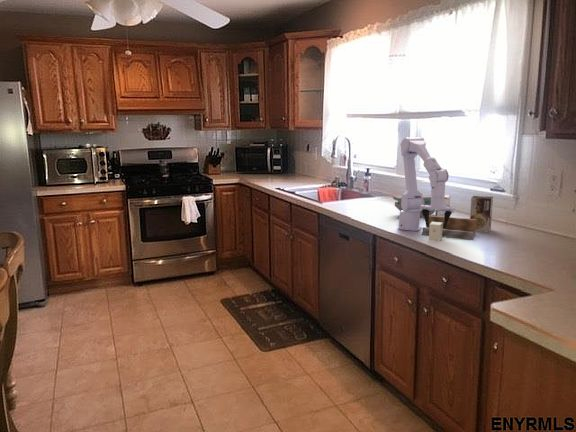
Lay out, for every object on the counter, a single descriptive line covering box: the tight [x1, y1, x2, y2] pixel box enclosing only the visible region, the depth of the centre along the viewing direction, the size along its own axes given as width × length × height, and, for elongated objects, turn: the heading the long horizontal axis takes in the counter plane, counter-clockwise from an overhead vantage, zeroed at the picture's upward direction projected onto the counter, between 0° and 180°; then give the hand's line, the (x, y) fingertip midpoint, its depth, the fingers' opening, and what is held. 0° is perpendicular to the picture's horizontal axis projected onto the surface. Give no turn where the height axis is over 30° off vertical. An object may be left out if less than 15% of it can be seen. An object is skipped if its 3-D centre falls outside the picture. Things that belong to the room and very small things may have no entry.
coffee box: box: [469, 195, 494, 233], centre depth 225 cm, size 9×6×16 cm
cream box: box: [428, 222, 443, 241], centre depth 211 cm, size 5×7×7 cm
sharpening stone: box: [392, 194, 436, 218], centre depth 260 cm, size 25×8×11 cm, turn 98°
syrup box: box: [434, 194, 452, 217], centre depth 240 cm, size 6×6×14 cm
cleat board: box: [421, 215, 477, 241], centre depth 218 cm, size 22×12×7 cm, turn 62°
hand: (436, 226), depth 211 cm, fingers open, 7 cm apart
